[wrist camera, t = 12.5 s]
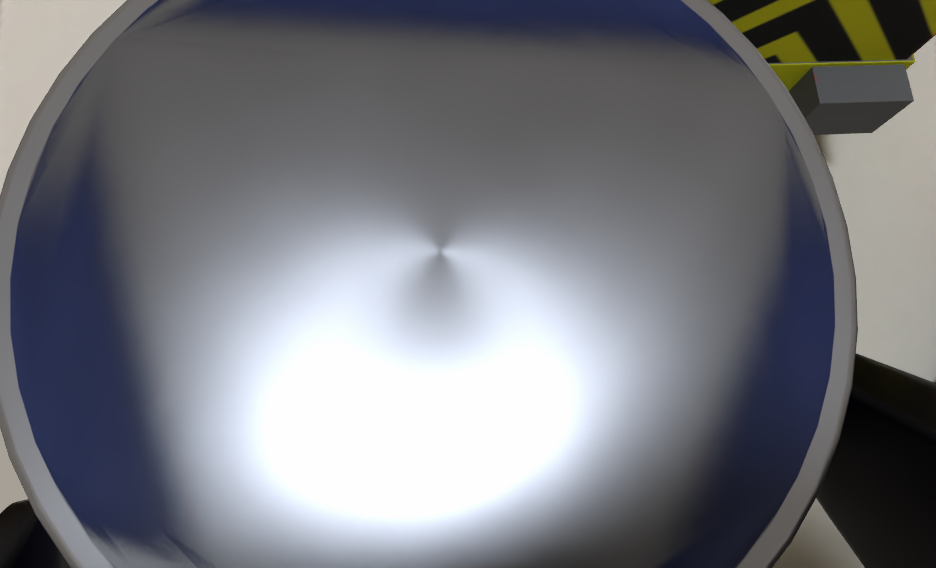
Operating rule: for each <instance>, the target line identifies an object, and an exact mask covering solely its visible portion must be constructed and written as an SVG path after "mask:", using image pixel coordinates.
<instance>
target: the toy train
mask: <svg viewBox="0 0 936 568" xmlns="http://www.w3.org/2000/svg"><path fill="white" fill-rule="evenodd" d="M707 1H709V2H710V3H711V4H712V5H713V6H715V7H716V8H717V9H718V10H719V11H721V12H722V13H723V14H724V15H725V16H726V17H727V18H728V19H729V20H730V21H731V22H732V23H733V24H734V26H735V27H736V28H737V29H738V30H739V31H740V32H741V33H742V34H743V35H744V36H745V37H746V38H747V39H748V40H749V41H750V42H751V43H752V44H753V45H754V46H755V47H756V48H757V50H758V51H759V52H760V54H761V55H762V56H763V58H764V59H765V60H766V62H767V63H768V64H769V65H770V67H771V68H772V69H773V71H774V72H775V73H776V75H777V76H778V77H779V79H780V80H781V81H782V82H783V84H784V85H785V86H786V88H787V89H788V91H789V93H790V94H791V96H792V98H793V100H794V101H795V103H796V105H797V106H798V108H799V110H800V111H801V113H802V115H803V116H804V118H805V120H806V122H807V123H808V125H809V127H810V128H811V130H812V132H813V134H814V135H822V134H850V133H872V132H874V131H875V130H876V129H878V128H879V127H880V126H881V125H883V124H884V123H885V122H887V121H888V120H889V119H891V118H892V117H893V116H894V115H896V114H897V113H898V112H900V111H901V110H902V109H904V108H905V107H906V106H907V105H909V104H910V103H911V102H913V101H914V100H913V96H912V92H911V88H910V84H909V80H908V76H907V72H906V69H907V68H908V67H909V66H911V65H912V64H913V63H914V62H915V58H914V53H915V52H916V51H917V50H918V49H920V48H921V47H922V46H923V45H924V44H925V43H926V42H928V41H929V40H930V39H931V38H932V37H933V36H935V35H936V0H707Z"/></svg>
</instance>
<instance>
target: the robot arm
mask: <svg viewBox="0 0 936 568" xmlns="http://www.w3.org/2000/svg"><path fill="white" fill-rule="evenodd" d="M816 498H817V500H818V501H819V503H820V504H821V506H822V507H823V509H824V510H825V512H826V513H827V515H828V516H829V518H830V519H831V520H832V522H833V523H834V525H835V526H836V527H837V529H838V530H839V532H840V533H841V535H842V536H843V537H844V539H845V540H846V542H847V543H848V544H849V546H850V547H851V549H852V550H853V551H854V553H855V554H856V556H857V557H858V558H859V560H860V561H861V563H862V564H863V566H864V567H865V568H936V383H933V382H931V381H928V380H925V379H923V378H920V377H917V376H915V375H912V374H909V373H907V372H904V371H901V370H899V369H896V368H893V367H891V366H888V365H885V364H883V363H880V362H877V361H875V360H872V359H869V358H867V357H864V356H861V355H859V354H856V353H855V364H854V374H853V384H852V389H851V393H850V397H849V402H848V406H847V410H846V414H845V419H844V423H843V427H842V431H841V436H840V439H839V442H838V445H837V447H836V450H835V452H834V455H833V458H832V460H831V463H830V465H829V468H828V470H827V473H826V476H825V478H824V481H823V483H822V486H821V489H820V491H819V493H818V495H817V497H816ZM0 568H71V567H70V566H69V564H68V563H67V561H66V560H65V558H64V557H63V555H62V554H61V552H60V551H59V549H58V548H57V546H56V545H55V543H54V542H53V540H52V539H51V537H50V536H49V534H48V533H47V531H46V530H45V528H44V527H43V525H42V524H41V522H40V520H39V519H38V517H37V516H36V514H35V512H34V510H33V508H32V506H31V503H30V501H29V499H27V500H23V501H18V502H15V503H13V504H11V505H10V506H8V507H7V508H6V509H5V510H4V511H3V512H2V513H1V514H0Z"/></svg>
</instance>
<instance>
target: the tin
mask: <svg viewBox="0 0 936 568" xmlns="http://www.w3.org/2000/svg"><path fill="white" fill-rule="evenodd" d="M857 332H858V327H857V299H856V276H855V270H854V264H853V258H852V252H851V246H850V240H849V234H848V228H847V224H846V221H845V218H844V214H843V211H842V208H841V204H840V201H839V198H838V194H837V191H836V188H835V184H834V181H833V178H832V175H831V173H830V171H829V168H828V166H827V164H826V162H825V159H824V157H823V155H822V152H821V150H820V148H819V146H818V143H817V141H816V139H815V136H814V134H813V132H812V130H811V128H810V127H809V125H808V123H807V122H806V120H805V118H804V116H803V115H802V113H801V111H800V110H799V108H798V106H797V105H796V103H795V101H794V100H793V98H792V96H791V94H790V93H789V91H788V89H787V88H786V86H785V85H784V84H783V82H782V81H781V80H780V79H779V77H778V76H777V75H776V73H775V72H774V71H773V69H772V68H771V67H770V65H769V64H768V63H767V62H766V60H765V59H764V58H763V56H762V55H761V54H760V52H759V51H758V50H757V48H756V47H755V46H754V45H753V44H752V43H751V42H750V41H749V40H748V39H747V38H746V37H745V36H744V35H743V34H742V33H741V32H740V31H739V30H738V29H737V28H736V27H735V26H734V24H733V23H732V22H731V21H730V20H729V19H728V18H727V17H726V16H725V15H724V14H723V13H722V12H721V11H719V10H718V9H717V8H716V7H715V6H713V5H712V4H711V3H710V2H709V1H707V0H127V1H126V2H125V3H124V4H123V5H122V6H120V7H119V8H118V9H117V10H116V11H115V12H114V13H113V14H112V15H111V16H110V17H109V18H108V19H107V20H106V21H105V22H104V23H103V24H102V25H101V26H99V27H98V28H97V29H96V30H95V31H94V32H93V33H92V34H91V36H90V37H89V38H88V39H87V41H86V42H85V43H84V44H83V45H82V47H81V48H80V49H79V50H78V52H77V53H76V54H75V55H74V56H73V58H72V59H71V60H70V61H69V63H68V64H67V65H66V66H65V68H64V69H63V70H62V71H61V72H60V74H59V75H58V77H57V78H56V80H55V82H54V83H53V85H52V86H51V88H50V90H49V91H48V93H47V94H46V96H45V98H44V99H43V101H42V102H41V104H40V106H39V107H38V109H37V111H36V112H35V114H34V115H33V117H32V119H31V120H30V122H29V125H28V127H27V129H26V131H25V134H24V136H23V138H22V140H21V142H20V145H19V147H18V149H17V151H16V153H15V156H14V158H13V160H12V162H11V165H10V167H9V169H8V172H7V175H6V179H5V182H4V185H3V189H2V192H1V195H0V428H1V431H2V435H3V438H4V441H5V445H6V448H7V452H8V455H9V458H10V460H11V462H12V465H13V467H14V469H15V471H16V473H17V475H18V478H19V480H20V482H21V484H22V486H23V488H24V491H25V493H26V495H27V497H28V499H29V501H30V503H31V506H32V508H33V510H34V512H35V514H36V516H37V517H38V519H39V520H40V522H41V524H42V525H43V527H44V528H45V530H46V531H47V533H48V534H49V536H50V537H51V539H52V540H53V542H54V543H55V545H56V546H57V548H58V549H59V551H60V552H61V554H62V555H63V557H64V558H65V560H66V561H67V563H68V564H69V566H70V567H71V568H772V567H773V566H774V564H775V563H776V562H777V560H778V559H779V558H780V556H781V555H782V554H783V552H784V551H785V550H786V548H787V547H788V546H789V544H790V543H791V542H792V540H793V538H794V536H795V534H796V533H797V531H798V529H799V527H800V525H801V524H802V522H803V520H804V518H805V516H806V515H807V513H808V511H809V509H810V507H811V506H812V504H813V502H814V500H815V498H816V497H817V495H818V493H819V491H820V489H821V486H822V483H823V481H824V478H825V476H826V473H827V470H828V468H829V465H830V463H831V460H832V458H833V455H834V452H835V450H836V447H837V445H838V442H839V439H840V436H841V431H842V427H843V423H844V419H845V414H846V410H847V406H848V402H849V397H850V393H851V389H852V384H853V374H854V364H855V353H856V343H857Z"/></svg>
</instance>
